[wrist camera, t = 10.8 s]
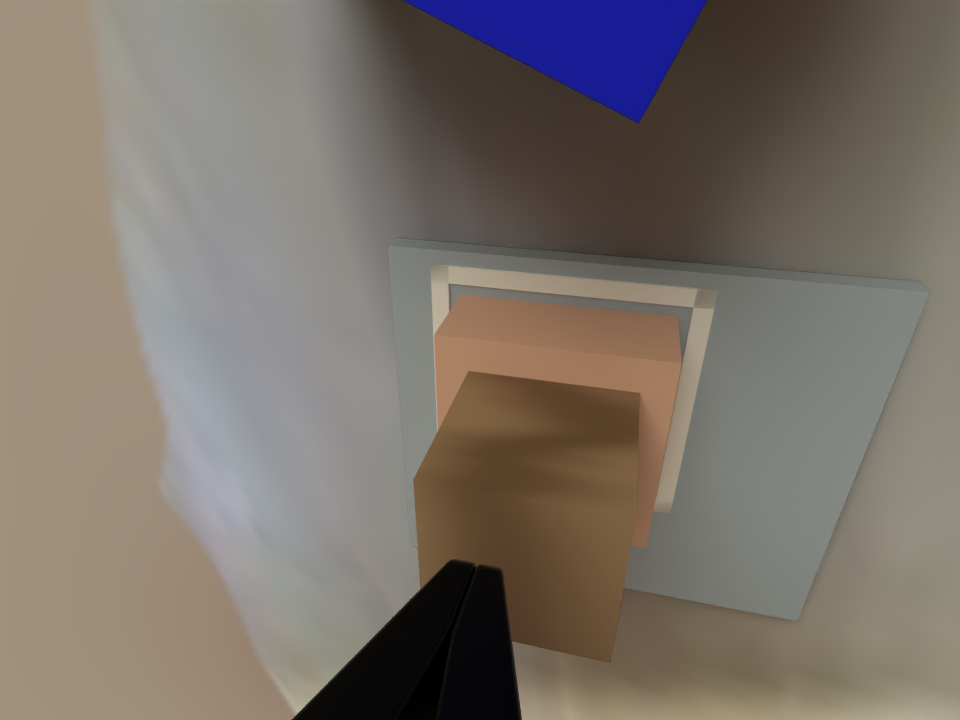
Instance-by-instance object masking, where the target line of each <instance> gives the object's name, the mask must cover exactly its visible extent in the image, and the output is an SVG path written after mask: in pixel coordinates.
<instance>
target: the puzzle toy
mask: <svg viewBox="0 0 960 720" xmlns="http://www.w3.org/2000/svg"><path fill="white" fill-rule="evenodd" d="M403 1H404V2H406V3H408V4H410V5H412V6H414V7H416V8H418V9H420V10H422V11H424V12H426V13H427V14H429V15H431V16H433V17H435V18H437V19H439V20H441V21H443V22H445V23H447V24H449V25H450V26H452V27H454V28H456V29H458V30H460V31H462V32H464V33H466V34H468V35H470V36H472V37H473V38H475V39H477V40H479V41H481V42H483V43H485V44H487V45H489V46H491V47H493V48H495V49H497V50H498V51H500V52H502V53H504V54H506V55H508V56H510V57H512V58H514V59H516V60H518V61H520V62H521V63H523V64H525V65H527V66H529V67H531V68H533V69H535V70H537V71H539V72H541V73H543V74H544V75H546V76H548V77H550V78H552V79H554V80H556V81H558V82H560V83H562V84H564V85H566V86H567V87H569V88H571V89H573V90H575V91H577V92H579V93H581V94H583V95H585V96H587V97H589V98H590V99H592V100H594V101H596V102H598V103H600V104H602V105H604V106H606V107H608V108H610V109H612V110H613V111H615V112H617V113H619V114H621V115H623V116H625V117H627V118H629V119H631V120H633V121H635V122H636V123H638V124H639V122H640V121H641V119H642V117H643V115H644V114H645V112H646V110H647V108H648V106H649V105H650V103H651V101H652V99H653V97H654V96H655V94H656V92H657V90H658V88H659V87H660V85H661V83H662V81H663V79H664V78H665V76H666V74H667V72H668V70H669V69H670V67H671V65H672V63H673V61H674V60H675V58H676V56H677V54H678V52H679V51H680V49H681V47H682V45H683V43H684V42H685V40H686V38H687V36H688V34H689V33H690V31H691V29H692V27H693V25H694V24H695V22H696V20H697V18H698V16H699V15H700V13H701V11H702V9H703V8H704V6H705V4H706V2H707V0H403Z"/></svg>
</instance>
